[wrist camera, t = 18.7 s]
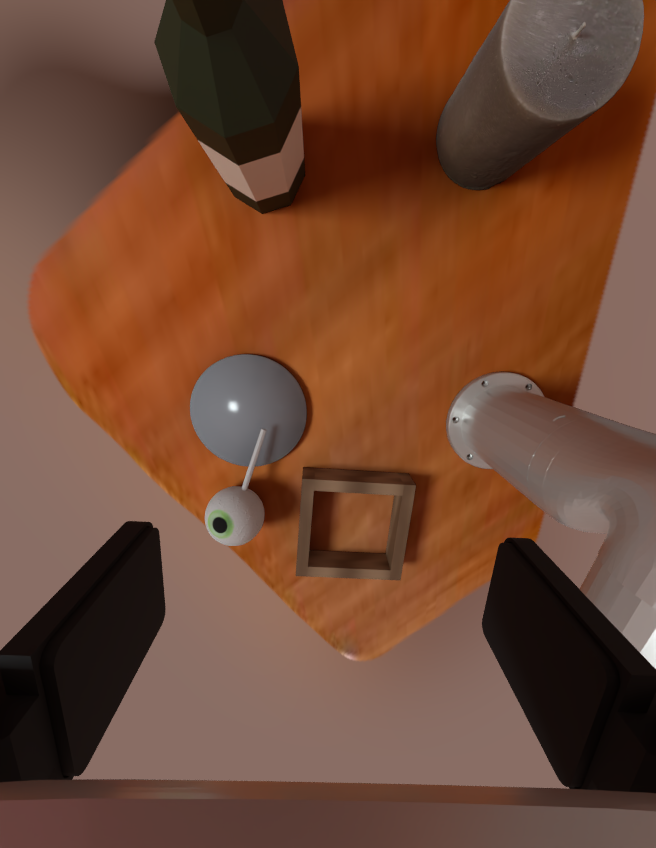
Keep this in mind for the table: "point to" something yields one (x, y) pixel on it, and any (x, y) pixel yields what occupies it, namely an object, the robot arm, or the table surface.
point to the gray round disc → (248, 409)
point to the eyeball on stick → (236, 509)
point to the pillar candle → (535, 84)
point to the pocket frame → (356, 562)
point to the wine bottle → (238, 92)
